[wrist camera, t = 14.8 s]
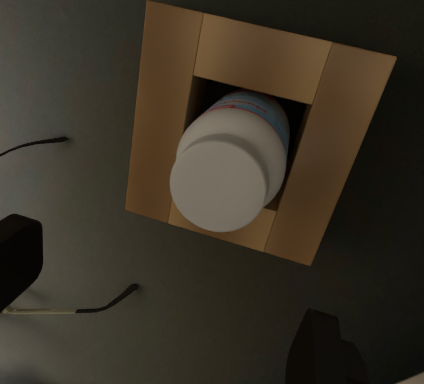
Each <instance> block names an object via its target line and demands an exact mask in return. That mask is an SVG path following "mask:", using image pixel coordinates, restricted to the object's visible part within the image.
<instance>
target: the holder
mask: <svg viewBox="0 0 424 384" xmlns="http://www.w3.org/2000/svg"><path fill="white" fill-rule="evenodd" d="M396 59H397V57H396V56H392V55H387V54H383V53H379V52H374V51H370V50H365V49H361V48H357V47H352V46H348V45H343V44H339V43H335V42H330V41H326V40H321V39H317V38H313V37H308V36H304V35H299V34H295V33H291V32H286V31H282V30H277V29H273V28H269V27H264V26H260V25H255V24H251V23H247V22H242V21H238V20H233V19H229V18H225V17H220V16H216V15H211V14H207V13H203V12H198V11H194V10H189V9H185V8H181V7H176V6H172V5H167V4H163V3H159V2H154V1H150V0H147V4H146V14H145V23H144V33H143V43H142V52H141V62H140V72H139V81H138V91H137V101H136V110H135V120H134V129H133V139H132V149H131V158H130V168H129V178H128V187H127V197H126V207H125V210H126V211H129V212H133V213H136V214H139V215H143V216H146V217H149V218H153V219H156V220H159V221H162V222H166V223H169V224H172V225H175V226H179V227H182V228H185V229H189V230H192V231H195V232H198V233H202V234H205V235H208V236H212V237H215V238H218V239H222V240H225V241H228V242H232V243H235V244H238V245H242V246H245V247H248V248H252V249H255V250H258V251H261V252H263V251H264V252H265V253H269V254H272V255H275V256H279V257H282V258H285V259H289V260H292V261H295V262H299V263H302V264H305V265H309V266H311V264H312V261H313V259H314V257H315V254H316V252H317V249H318V247H319V245H320V242H321V240H322V237H323V235H324V233H325V230H326V228H327V225H328V223H329V221H330V218H331V216H332V213H333V211H334V209H335V206H336V204H337V201H338V199H339V197H340V194H341V192H342V189H343V187H344V184H345V182H346V180H347V177H348V175H349V172H350V170H351V168H352V165H353V163H354V160H355V158H356V156H357V153H358V151H359V148H360V146H361V144H362V141H363V139H364V136H365V134H366V132H367V129H368V127H369V124H370V122H371V120H372V117H373V115H374V112H375V110H376V108H377V105H378V103H379V100H380V98H381V96H382V93H383V91H384V88H385V86H386V84H387V81H388V79H389V76H390V74H391V71H392V69H393V67H394V64H395V62H396ZM208 79H210V80H214V81H218V82H222V83H226V84H230V85H234V86H238V87H242V88H246V89H250V90H254V91H258V92H262V93H266V94H270V95H274V96H278V97H282V98H286V99H290V100H294V101H298V102H302V103H306V107H305V110H304V113H303V116H302V119H301V122H300V125H299V128H298V131H297V135H296V138H295V141H294V144H293V147H292V150H291V153H290V156H289V159H288V162H287V165H286V171H285V175H284V179H283V182H282V185H281V187H280V189H279V191H278V193H277V194H276V196H275V197H274V198H273V199H272V200H271V201H270V202H269V203H268V204H267V205H266V206H264V207H263V208H262V210H261V212H260V213H259V215H258V216H257V217H256V218H255V219H254V220H253V221H252V222H251V223H249V224H248V225H246V226H245V227H242V228H240V229H238V230H235V231H231V232H214V231H209V230H206V229H203V228H200V227H198V226H196V225H195V224H193V223H192V222H190V221H189V220H188V219H186V218H185V217H184V216H183V215H182V214H181V212H180V211H179V210H178V208H177V206H176V205H175V203H174V201H173V198H172V195H171V191H170V175H171V171H172V168H173V165H174V163H175V162H176V154H177V149H178V145H179V142H180V140H181V138H182V136H183V134H184V132H185V131H186V129H187V128H188V127H189V126H190V125H191V124H192V123H193V122H194V121H195V120H196V119H197V118H198V117H199V116H201V112H202V107H203V101H204V96H205V91H206V86H207V80H208Z"/></svg>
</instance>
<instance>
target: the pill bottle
mask: <svg viewBox="0 0 424 384" xmlns="http://www.w3.org/2000/svg"><path fill="white" fill-rule="evenodd" d="M289 138H290V126H289V121H288V118H287V115H286V113H285V111H284V109H283V108H282V106H281V105H280V103H279V102H278V101H277V100H276V99H275V98H274V97H272V96H271V95H270V94H266V93H262V92H258V91H254V90H250V89H246V88H245V89H238V90H235V91H232V92H230V93H228V94H226V95H225V96H223V97H222V98H221V99H220V100H218V101H217V102H216V103H215V104H214V105H212V106H211V107H210V108H209V109H208V110H206V111H205V112H204V113H203V114H202V115H201V116H199V117H198V118H197V119H196V120H195V121H194V122H193V123H192V124H191V125H190V126H189V127H188V128H187V129H186V131H185V132H184V134H183V136H182V138H181V140H180V142H179V145H178V149H177V154H176V162H175V163H174V165H173V168H172V171H171V175H170V191H171V195H172V198H173V201H174V203H175V205H176V206H177V208H178V210H179V211H180V212H181V214H182V215H183V216H184V217H185V218H186V219H188V220H189V221H190V222H192V223H193V224H195V225H196V226H198V227H200V228H203V229H206V230H209V231H214V232H231V231H235V230H238V229H240V228H242V227H245V226H246V225H248V224H249V223H251V222H252V221H253V220H254V219H255V218H256V217H257V216H258V215H259V213H260V212H261V210H262V208H263V207H264V206H266V205H267V204H268V203H269V202H270V201H271V200H272V199H273V198H274V197H275V196H276V194H277V193H278V191H279V189H280V187H281V185H282V182H283V179H284V175H285V171H286V163H287V154H288V146H289Z"/></svg>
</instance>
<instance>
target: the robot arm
mask: <svg viewBox="0 0 424 384" xmlns="http://www.w3.org/2000/svg"><path fill="white" fill-rule="evenodd" d="M42 266H43V233H42V224H41V223H40V222H39V221H37V220H34V219H31V218H28V217H25V216H21V215H18V214H11V215H9V216H7V217H5V218H4V219H2V220H1V221H0V313H1V312H2V311H3V310H4V309H5V308H6V307H7V306H8V305H10V304H11V303H12V302H13V301H14V300H15V299H16V298H17V297H18V296H19V295H20V294H21V293H23V292H24V291H25V290H26V289H27V288H28V287H29V286H30V285H31V284H32V283H33V282H34V281H35V280H36V279H37V277H38V276H39V274H40V272H41V269H42ZM285 384H369V380H368V375H367V370H366V365H365V362H364V360H363V359H362V357H361V355H360V353H359V352H358V350H357V348H356V347H355V345H354V343H351V342H348V341H345V340H342V339H341V335H340V328H339V321H338V318H337V317H336V316H333V315H330V314H326V313H323V312H320V311H317V310H314V309H311V308H308V309H307V311H306V313H305V315H304V317H303V319H302V322H301V324H300V326H299V329H298V331H297V333H296V335H295V338H294V340H293V342H292V345H291V347H290V350H289V354H288V358H287V363H286V375H285Z"/></svg>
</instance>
